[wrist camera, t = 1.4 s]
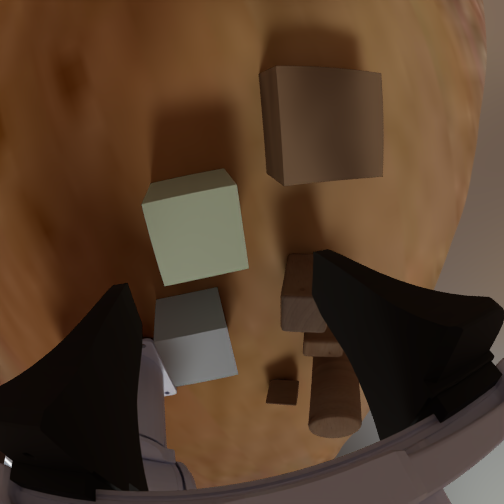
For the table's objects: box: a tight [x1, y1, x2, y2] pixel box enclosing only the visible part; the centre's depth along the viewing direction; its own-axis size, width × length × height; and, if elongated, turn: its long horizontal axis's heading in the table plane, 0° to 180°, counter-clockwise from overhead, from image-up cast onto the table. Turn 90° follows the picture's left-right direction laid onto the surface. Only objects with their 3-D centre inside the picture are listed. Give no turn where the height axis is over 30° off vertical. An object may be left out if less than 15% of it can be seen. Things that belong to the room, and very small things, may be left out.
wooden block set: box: [266, 254, 362, 438], centre depth 24 cm, size 18×9×10 cm, turn 3°
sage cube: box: [141, 168, 249, 286], centre depth 18 cm, size 5×5×5 cm
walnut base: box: [259, 66, 383, 186], centre depth 18 cm, size 7×7×4 cm
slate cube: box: [154, 287, 238, 387], centre depth 22 cm, size 5×5×5 cm
